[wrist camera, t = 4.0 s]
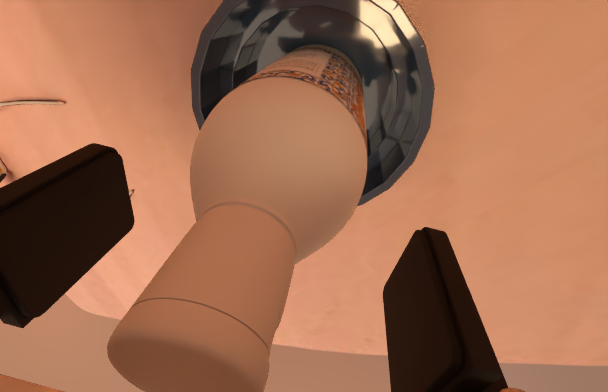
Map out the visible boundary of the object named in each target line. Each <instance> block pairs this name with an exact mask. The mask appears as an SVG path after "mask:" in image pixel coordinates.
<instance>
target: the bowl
mask: <svg viewBox="0 0 608 392" xmlns="http://www.w3.org/2000/svg"><path fill="white" fill-rule="evenodd" d="M309 44H321V45H326V46H330V47H333V48H335V49H337V50H339V51H341V52H342V53H344V54H345V55H346V56H347V57H348V58H349V59H350V60H351V61H352V62H353V64H354V65H355V67H356V68H357V70H358V72H359V75H360V78H361V81H362V86H363V94H364V108H365V122H366V136H367V149H368V169H367V175H366V180H365V184H364V188H363V192H362V195H361V198H360V200H359V203H358V205H357V206H359V205H362V204H364V203H366V202H368V201H369V200H371V199H373V198H374V197H376V196H378V195H379V194H381V193H383V192H384V191H386V190H388V189H389V188H390V187H391V186H392V185H393V184H394V183H395V182H396V181H397V180H398V179H399V178H400V177H401V176H402V174H403V173H404V172H405V171H406V170H407V169H408V168H409V167H410V166H411V165H412V164H413V162H414V160H415V158H416V156H417V154H418V152H419V150H420V148H421V146H422V144H423V141H424V139H425V137H426V135H427V133H428V131H429V128H430V123H431V115H432V106H433V98H434V90H435V88H434V81H433V77H432V72H431V68H430V63H429V59H428V54H427V49H426V45H425V44H424V41H423V39H422V38H421V36H420V34H419V33H418V31H417V30H416V28H415V27H414V25H413V23H412V22H411V20H410V19H409V17H408V16H407V14H406V13H405V11H404V9H403V8H402V6H401V5H400V4H398V2H397V1H396V0H223V2H222V3H221V4H220V6H219V7H218V9H217V10H216V12H215V13H214V14H213V16H212V17H211V19H210V20H209V22H208V23H207V25H206V26H205V27H204V29H203V30H202V32H201V35H200V39H199V42H198V46H197V50H196V53H195V57H194V61H193V64H192V68H191V87H192V108H193V112H194V115H195V118H196V121H197V124H198V127H199V130H201V127H202V125H203V124H204V122H205V120H206V119H207V117H208V116H209V114H210V113H211V111H212V110H213V109H214V108H215V106H216V105H217V104H218V103H219V102H220V100H221V99H222V98H223V97H224V96H225V95H226V94H227V93H229V92H230V91H231V90H233V89H234V88H236V87H237V86H239V85H240V84H242V83H243V82H245V81H246V80H248V79H249V78H251V77H252V76H254V75H255V74H257V73H258V72H260V71H261V70H263V69H264V68H266V67H267V66H269V65H271V64H272V63H274V62H275V61H277V60H278V59H280V58H281V57H283V56H284V55H286V54H287V53H289V52H291V51H292V50H294V49H296V48H299V47H301V46H304V45H309Z"/></svg>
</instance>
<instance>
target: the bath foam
mask: <svg viewBox="0 0 608 392" xmlns="http://www.w3.org/2000/svg"><path fill="white" fill-rule="evenodd" d="M367 169H368V149H367V136H366V122H365V108H364V94H363V86H362V81H361V78H360V75H359V72H358V70H357V68H356V67H355V65H354V64H353V62H352V61H351V60H350V59H349V58H348V57H347V56H346V55H345V54H344V53H342V52H341V51H339V50H337V49H335V48H333V47H330V46H326V45H321V44H309V45H304V46H301V47H299V48H296V49H294V50H292V51H291V52H289V53H287V54H286V55H284V56H283V57H281V58H280V59H278V60H277V61H275V62H274V63H272V64H271V65H269V66H267V67H266V68H264V69H263V70H261V71H260V72H258V73H257V74H255V75H254V76H252V77H251V78H249V79H248V80H246V81H245V82H243V83H242V84H240V85H239V86H237V87H236V88H234V89H233V90H231V91H230V92H229V93H227V94H226V95H225V96H224V97H223V98H222V99H221V100H220V102H219V103H218V104H217V105H216V106H215V108H214V109H213V110H212V111H211V113H210V114H209V116H208V117H207V119H206V120H205V122H204V124H203V125H202V127H201V130H200V132H199V134H198V136H197V139H196V142H195V145H194V149H193V153H192V158H191V167H190V185H191V194H192V201H193V207H194V212H195V217H196V223H195V224H194V225H193V227H192V228H191V229H190V230H189V232H188V233H187V234H186V235H185V237H184V238H183V239H182V241H181V242H180V243H179V245H178V246H177V247H176V249H175V250H174V251H173V252H172V254H171V255H170V256H169V258H168V259H167V260H166V262H165V263H164V264H163V266H162V267H161V268H160V270H159V271H158V272H157V274H156V275H155V276H154V278H153V279H152V280H151V282H150V283H149V284H148V286H147V287H146V288H145V290H144V291H143V292H142V294H141V295H140V296H139V298H138V299H137V300H136V302H135V303H134V304H133V306H132V307H131V308H130V310H129V311H128V312H127V314H126V315H125V316H124V317H123V319H122V320H121V321H120V323H119V325H118V326H117V327H116V329H115V330H114V332H113V334H112V335H111V337H110V340H109V342H108V346H107V351H108V357H109V360H110V361H111V363H112V365H113V366H114V368H115V369H116V370H117V371H118V372H119V373H120V374H121V375H122V376H123V377H124V378H125V379H127V380H128V381H129V382H130V383H132V384H133V385H135V386H136V387H138V388H139V389H141V390H143V391H145V392H263V391H264V388H265V385H266V381H267V377H268V372H269V354H270V349H271V345H272V341H273V337H274V334H275V331H276V329H277V328H278V326H279V323H280V321H281V318H282V314H283V311H284V307H285V303H286V299H287V295H288V291H289V287H290V283H291V278H292V274H293V269H294V265H295V264H296V263H298V262H300V261H301V260H303V259H305V258H306V257H308V256H309V255H311V254H313V253H314V252H316V251H317V250H319V249H320V248H321V247H323V246H324V245H325V244H327V243H328V242H329V241H330V240H331V239H333V238H334V237H335V236H336V235H337V234H338V233H339V232H340V231H341V230H342V228H343V227H344V226H345V225H346V223H347V222H348V220H349V219H350V218H351V216H352V214H353V213H354V211H355V209H356V207H357V205H358V203H359V200H360V198H361V195H362V192H363V188H364V184H365V180H366V175H367Z"/></svg>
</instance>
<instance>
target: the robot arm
mask: <svg viewBox="0 0 608 392" xmlns="http://www.w3.org/2000/svg"><path fill="white" fill-rule="evenodd" d="M133 225H134V215H133V210H132V205H131V200H130V195H129V190H128V185H127V180H126V175H125V170H124V165H123V160H122V157H121V156H120V155H119V154H118V152H117V151H116V149H114V148H112V147H108V146H104V145H100V144H95V143H92V144H89V145H87V146H85V147H83V148H81V149H79V150H77V151H75V152H73V153H71V154H69V155H67V156H65V157H63V158H61V159H59V160H57V161H55V162H53V163H50V164H48V165H46V166H44V167H42V168H40V169H38V170H36V171H34V172H32V173H30V174H28V175H26V176H24V177H22V178H20V179H18V180H16V181H14V182H12V183H10V184H8V185H6V186H4V187H2V188H0V319H1V320H2V321H3V323H5V324H9V325H13V326H16V327H20V328H24V327H25V326H26V325H27V324H28V323H29V322H30V321H31V320H32V319H33V318H35V317H39V316H41V315H42V314H43V313H45V312H46V311H47V310H48V309H49V308H50V307H51V306H52V305H53V304H54V303H55V302H56V301H57V300H58V299H59V298H60V297H61V296H62V295H64V294H65V293H66V292H67V291H68V290H69V289H70V288H71V287H72V286H73V285H74V284H75V283H76V282H77V281H78V280H79V279H80V278H81V277H82V276H83V275H84V274H85V273H87V272H88V271H89V270H90V269H91V268H92V267H93V266H94V265H95V264H96V263H97V262H98V261H99V260H100V259H101V258H102V257H103V256H104V255H105V254H106V253H107V252H108V251H109V250H111V249H112V248H113V247H114V246H115V245H116V244H117V243H118V242H119V241H120V240H121V239H122V238H123V237H124V236H125V235H126V234H127V233H128V232H129V231H130V230H131V229H132V227H133ZM383 302H384V314H385V325H386V337H387V348H388V360H389V371H390V383H391V392H525V391H522V390H521V389H515V388H508V386H507V383H506V381H505V378H504V376H503V373H502V371H501V368H500V366H499V363H498V361H497V358H496V356H495V353H494V351H493V348H492V346H491V343H490V341H489V338H488V336H487V333H486V331H485V328H484V326H483V323H482V321H481V318H480V316H479V313H478V311H477V308H476V306H475V303H474V301H473V298H472V296H471V293H470V291H469V288H468V286H467V284H466V281H465V279H464V276H463V274H462V271H461V269H460V266H459V264H458V261H457V259H456V256H455V254H454V251H453V249H452V246H451V244H450V241H449V239H448V236H447V234H446V232H444V231H440V230H436V229H432V228H428V227H424V228H423V229H422V230H421V231H420V230H416V231H415V232H414V234H413V236H412V238H411V239H410V241H409V243H408V245H407V247H406V248H405V250H404V252H403V254H402V256H401V257H400V259H399V261H398V263H397V265H396V266H395V268H394V270H393V272H392V273H391V275H390V277H389V279H388V281H387V282H386V284H385V286H384V290H383ZM0 392H63V391H60V390H56V389H52V388H49V387H45V386H42V385H38V384H35V383H31V382H27V381H24V380H20V379H16V378H13V377H9V376H5V375H2V374H0Z"/></svg>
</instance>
